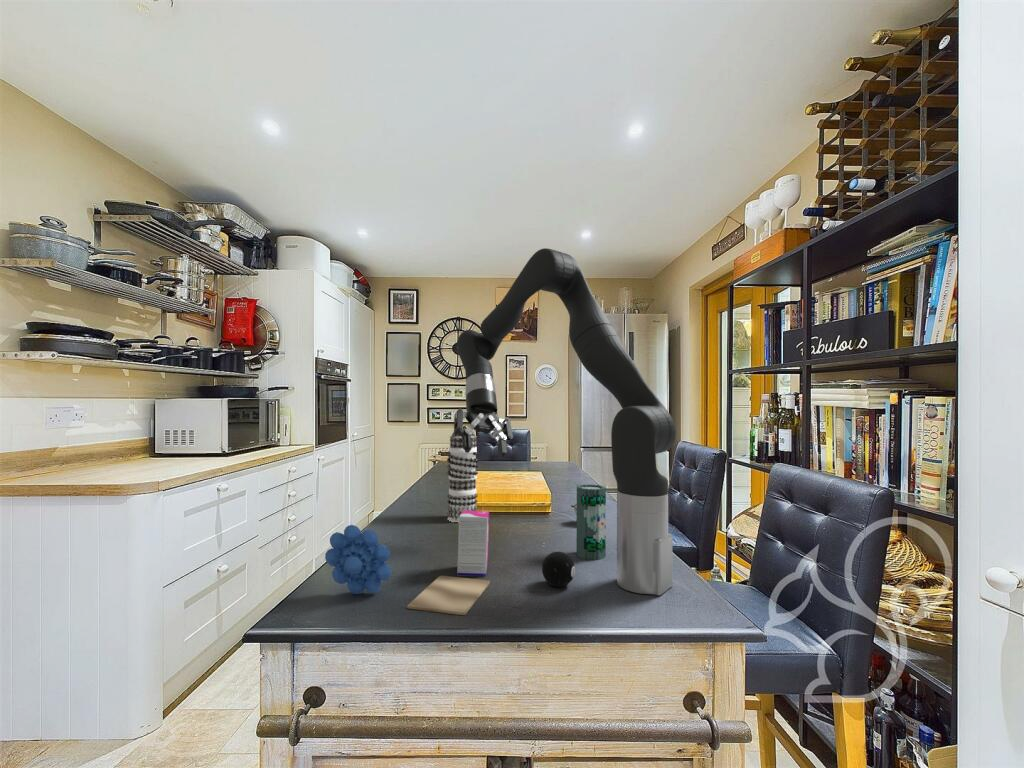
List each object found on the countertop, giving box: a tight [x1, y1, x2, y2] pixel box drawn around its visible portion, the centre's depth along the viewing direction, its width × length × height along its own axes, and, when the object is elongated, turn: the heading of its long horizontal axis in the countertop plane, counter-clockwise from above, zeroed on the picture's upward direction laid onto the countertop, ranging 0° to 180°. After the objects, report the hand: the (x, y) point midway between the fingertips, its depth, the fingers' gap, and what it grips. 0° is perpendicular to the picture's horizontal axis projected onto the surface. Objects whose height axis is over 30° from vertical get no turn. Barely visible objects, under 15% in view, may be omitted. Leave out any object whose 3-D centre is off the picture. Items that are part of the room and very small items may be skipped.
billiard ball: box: [541, 551, 576, 587], centre depth 89 cm, size 6×6×6 cm
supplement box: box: [456, 510, 490, 577], centre depth 96 cm, size 6×6×12 cm
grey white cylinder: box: [446, 430, 480, 524], centre depth 138 cm, size 9×9×25 cm
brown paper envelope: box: [406, 575, 491, 616], centre depth 84 cm, size 14×10×1 cm
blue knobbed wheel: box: [324, 524, 392, 595], centre depth 83 cm, size 12×7×12 cm, turn 89°
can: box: [575, 483, 607, 561], centre depth 107 cm, size 6×6×15 cm
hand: (485, 453), depth 110 cm, fingers open, 8 cm apart
